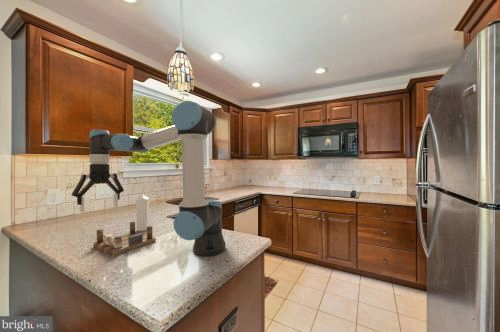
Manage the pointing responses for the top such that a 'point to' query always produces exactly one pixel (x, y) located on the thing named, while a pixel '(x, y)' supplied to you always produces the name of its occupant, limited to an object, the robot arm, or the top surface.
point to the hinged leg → (112, 240)
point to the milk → (142, 213)
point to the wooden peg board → (125, 241)
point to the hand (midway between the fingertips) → (99, 209)
